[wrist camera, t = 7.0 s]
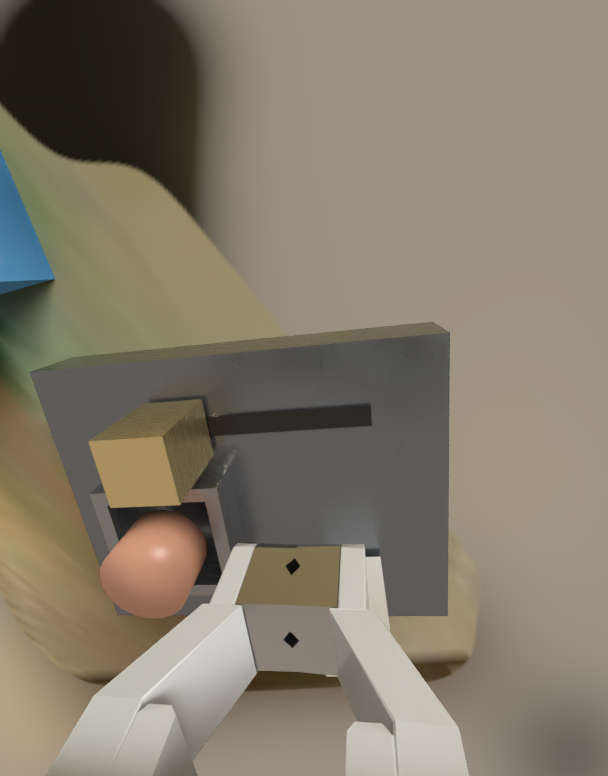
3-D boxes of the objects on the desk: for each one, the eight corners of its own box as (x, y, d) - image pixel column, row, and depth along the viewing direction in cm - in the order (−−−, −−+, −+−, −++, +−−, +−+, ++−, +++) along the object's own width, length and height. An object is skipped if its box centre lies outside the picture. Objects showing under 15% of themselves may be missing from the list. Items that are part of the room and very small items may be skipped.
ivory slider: (380, 556, 19) (390, 628, 15) (383, 600, 20) (392, 677, 16) (323, 557, 20) (319, 627, 16) (329, 600, 20) (326, 676, 17)
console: (432, 321, 18) (464, 341, 14) (434, 573, 23) (458, 651, 18) (72, 357, 21) (-7, 384, 16) (142, 576, 26) (97, 646, 21)
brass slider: (201, 398, 17) (162, 436, 13) (213, 455, 18) (180, 505, 14) (142, 403, 18) (88, 441, 14) (157, 458, 19) (110, 507, 15)
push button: (198, 508, 17) (176, 546, 15) (214, 574, 19) (196, 618, 16) (121, 511, 18) (88, 548, 16) (142, 575, 19) (114, 618, 17)
